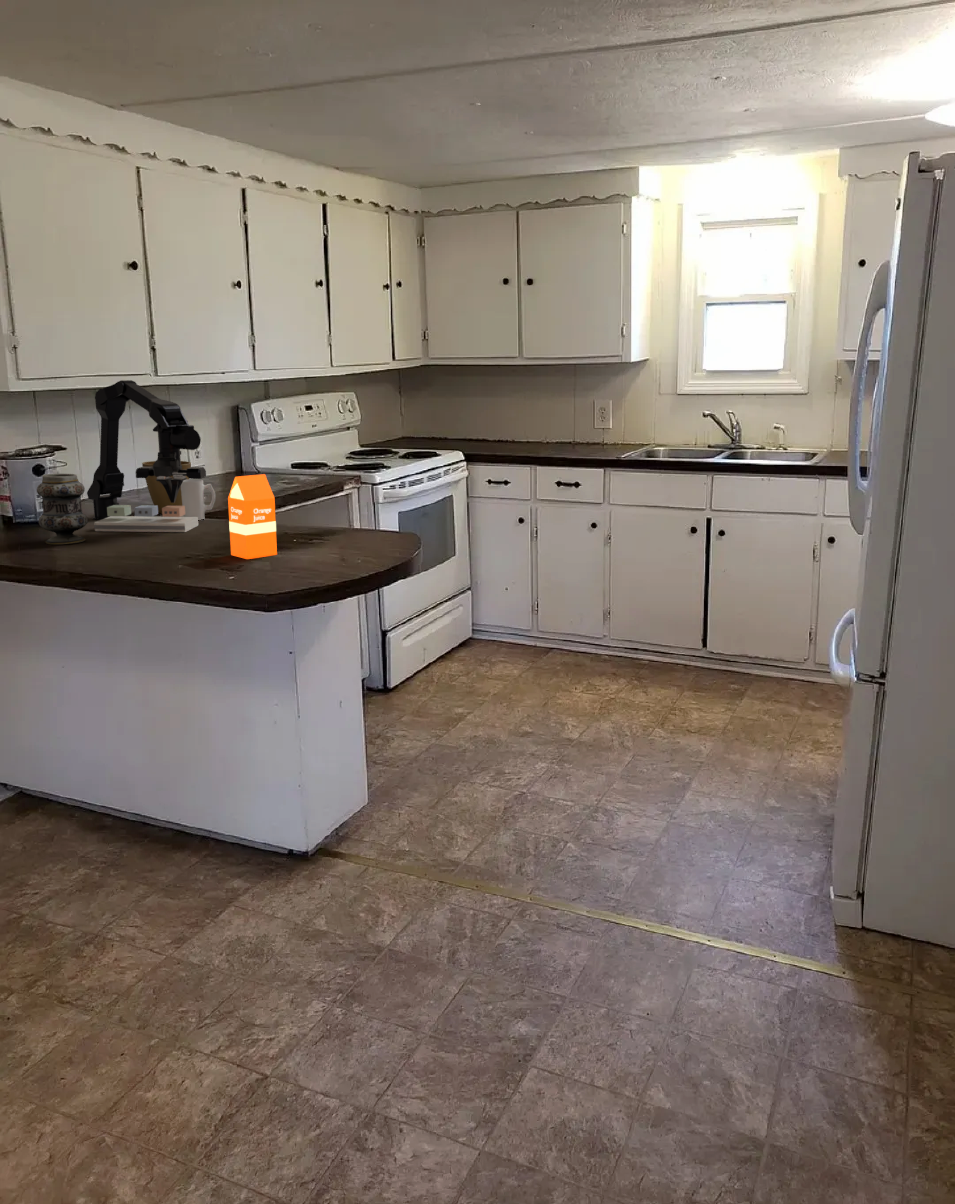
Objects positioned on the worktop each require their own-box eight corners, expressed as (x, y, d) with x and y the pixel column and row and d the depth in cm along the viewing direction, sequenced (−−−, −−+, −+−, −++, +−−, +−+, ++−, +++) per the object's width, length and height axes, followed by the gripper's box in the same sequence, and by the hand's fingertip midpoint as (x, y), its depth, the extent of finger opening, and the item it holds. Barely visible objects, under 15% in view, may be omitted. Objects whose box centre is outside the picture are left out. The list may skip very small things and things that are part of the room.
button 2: (134, 516, 282) (134, 507, 281) (141, 513, 287) (140, 505, 286) (151, 516, 281) (151, 508, 281) (158, 513, 287) (157, 505, 286)
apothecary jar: (98, 539, 267) (93, 473, 263) (69, 546, 256) (63, 477, 252) (61, 536, 270) (54, 471, 266) (30, 544, 259) (23, 476, 255)
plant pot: (156, 517, 305) (152, 465, 301) (138, 511, 316) (134, 461, 313) (201, 512, 314) (198, 462, 311) (182, 507, 326) (179, 459, 322)
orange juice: (230, 555, 247) (226, 475, 242) (260, 550, 253) (257, 472, 248) (247, 559, 241) (243, 478, 237) (277, 554, 247) (274, 475, 243)
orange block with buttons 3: (162, 516, 281) (161, 508, 281) (168, 514, 286) (167, 505, 286) (179, 517, 281) (178, 508, 281) (185, 514, 286) (184, 505, 286)
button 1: (107, 516, 282) (106, 507, 281) (114, 513, 287) (113, 505, 286) (124, 516, 282) (123, 507, 281) (131, 513, 287) (130, 505, 286)
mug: (182, 521, 297) (180, 482, 294) (182, 518, 303) (180, 479, 300) (217, 520, 300) (214, 481, 297) (216, 517, 306) (214, 478, 303)
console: (94, 531, 279) (93, 522, 279) (111, 524, 291) (111, 515, 291) (184, 532, 279) (184, 523, 278) (198, 525, 291) (197, 516, 290)
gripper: (126, 450, 272) (130, 506, 276) (192, 451, 271) (196, 507, 275) (140, 446, 283) (144, 500, 286) (205, 447, 282) (208, 501, 286)
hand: (173, 502), depth 283 cm, fingers closed
